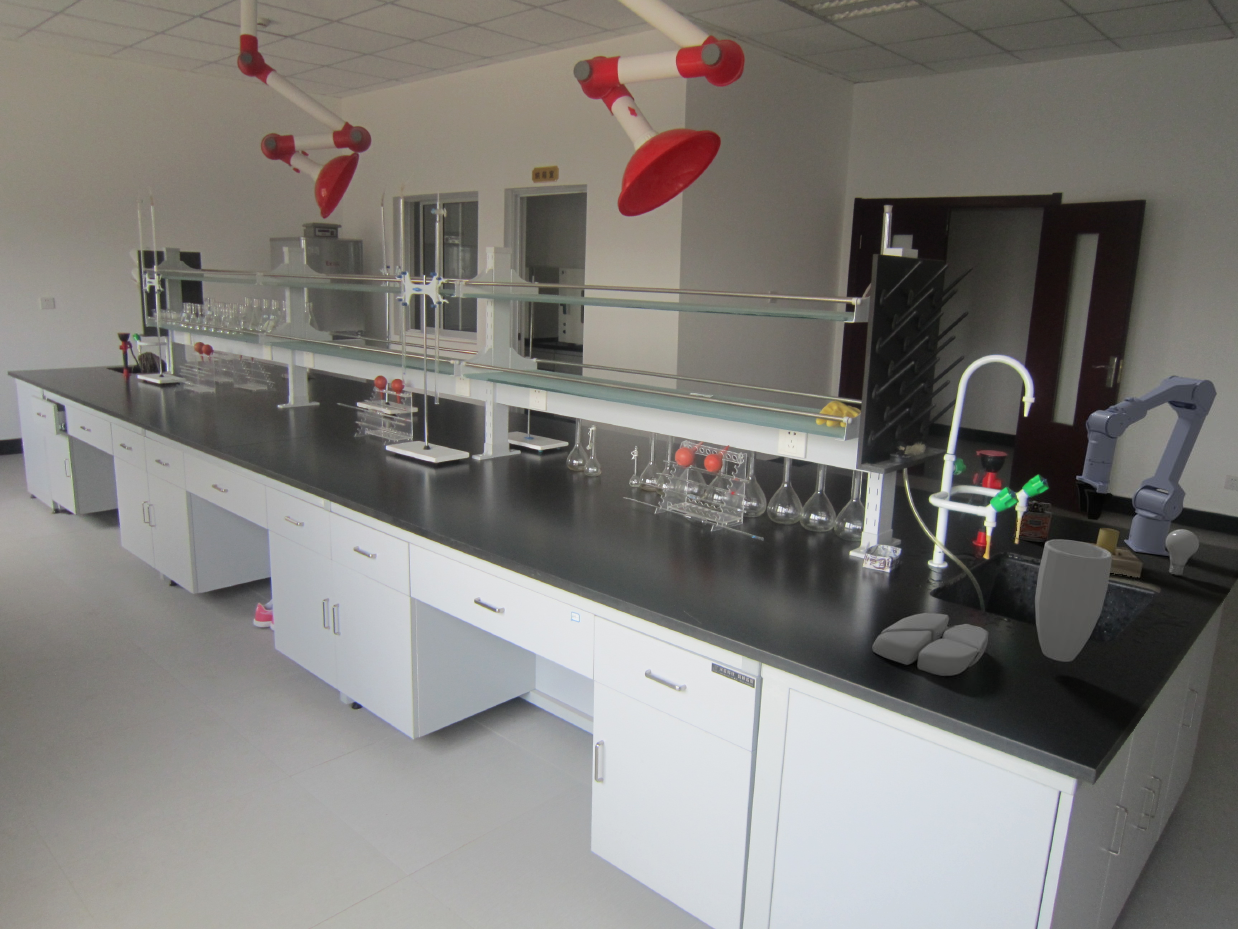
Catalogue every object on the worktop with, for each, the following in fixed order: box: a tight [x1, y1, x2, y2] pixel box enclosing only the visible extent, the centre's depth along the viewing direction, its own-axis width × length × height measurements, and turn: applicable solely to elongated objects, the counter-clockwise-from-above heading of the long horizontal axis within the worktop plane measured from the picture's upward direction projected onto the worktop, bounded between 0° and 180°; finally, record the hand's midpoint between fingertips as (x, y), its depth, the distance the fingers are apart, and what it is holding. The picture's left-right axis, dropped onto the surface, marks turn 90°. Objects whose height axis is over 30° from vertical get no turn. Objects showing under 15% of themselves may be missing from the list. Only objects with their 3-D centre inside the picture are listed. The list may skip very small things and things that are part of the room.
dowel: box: [1096, 527, 1120, 555], centre depth 194 cm, size 4×4×8 cm
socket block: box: [1082, 541, 1144, 579], centre depth 194 cm, size 12×12×4 cm
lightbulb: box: [1165, 528, 1200, 577], centre depth 190 cm, size 6×6×11 cm
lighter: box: [1013, 500, 1054, 543], centre depth 212 cm, size 8×3×10 cm, turn 76°
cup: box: [1034, 539, 1112, 663], centre depth 134 cm, size 10×10×22 cm
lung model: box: [872, 612, 990, 677], centre depth 143 cm, size 7×17×25 cm
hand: (1088, 515), depth 201 cm, fingers open, 7 cm apart
